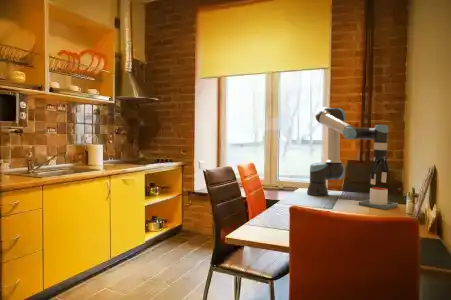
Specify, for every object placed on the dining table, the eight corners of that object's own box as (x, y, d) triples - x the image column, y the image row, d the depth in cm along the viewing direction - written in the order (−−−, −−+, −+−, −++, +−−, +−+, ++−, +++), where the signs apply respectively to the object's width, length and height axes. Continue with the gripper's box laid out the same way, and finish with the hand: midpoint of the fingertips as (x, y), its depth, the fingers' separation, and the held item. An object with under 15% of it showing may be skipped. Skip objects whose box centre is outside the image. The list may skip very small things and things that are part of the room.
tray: (358, 205, 208) (358, 201, 208) (372, 202, 218) (372, 198, 218) (384, 210, 195) (385, 206, 195) (397, 206, 205) (398, 203, 205)
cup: (389, 206, 201) (389, 190, 200) (371, 205, 203) (372, 189, 202) (384, 203, 210) (385, 187, 210) (367, 202, 212) (368, 187, 212)
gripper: (376, 150, 194) (374, 186, 196) (395, 149, 210) (393, 182, 211) (364, 149, 200) (362, 184, 201) (384, 148, 215) (382, 180, 217)
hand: (378, 183), depth 206 cm, fingers open, 13 cm apart
